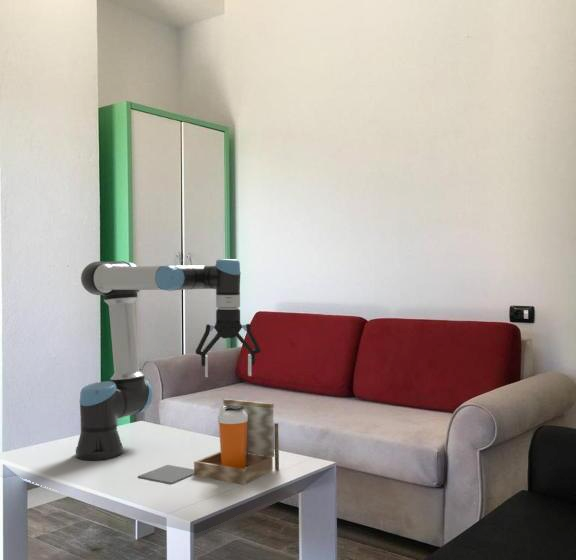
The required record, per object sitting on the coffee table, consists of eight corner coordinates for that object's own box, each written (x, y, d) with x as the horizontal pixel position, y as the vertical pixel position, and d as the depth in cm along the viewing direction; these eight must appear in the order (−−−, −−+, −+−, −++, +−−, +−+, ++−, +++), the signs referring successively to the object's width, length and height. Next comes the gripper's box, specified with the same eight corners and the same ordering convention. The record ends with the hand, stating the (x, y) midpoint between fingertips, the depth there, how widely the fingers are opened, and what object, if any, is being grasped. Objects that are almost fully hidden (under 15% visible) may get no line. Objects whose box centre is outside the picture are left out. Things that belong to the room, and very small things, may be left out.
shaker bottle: (244, 478, 193) (243, 409, 193) (214, 476, 195) (213, 408, 195) (252, 469, 202) (250, 403, 202) (223, 467, 204) (222, 402, 204)
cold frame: (194, 475, 197) (193, 407, 197) (228, 460, 211) (227, 398, 211) (247, 485, 187) (246, 414, 187) (279, 469, 201) (278, 403, 201)
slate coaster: (137, 477, 196) (137, 476, 196) (167, 466, 207) (167, 464, 207) (171, 484, 189) (171, 482, 189) (200, 471, 200) (200, 470, 200)
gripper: (188, 309, 202) (188, 379, 203) (269, 308, 206) (269, 376, 207) (187, 308, 209) (187, 375, 210) (266, 307, 214) (265, 373, 214)
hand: (228, 376), depth 208 cm, fingers open, 13 cm apart
